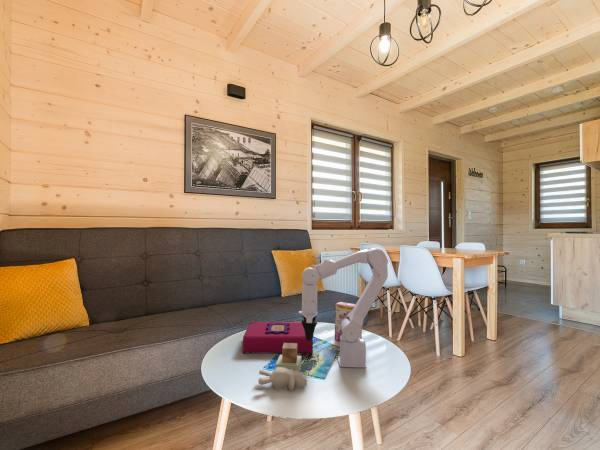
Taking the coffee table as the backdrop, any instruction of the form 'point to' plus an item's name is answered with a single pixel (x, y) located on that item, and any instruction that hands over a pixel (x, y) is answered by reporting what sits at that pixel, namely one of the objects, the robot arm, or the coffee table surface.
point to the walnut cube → (289, 353)
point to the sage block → (289, 365)
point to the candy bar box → (342, 317)
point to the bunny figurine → (283, 378)
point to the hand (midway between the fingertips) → (309, 336)
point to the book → (275, 337)
